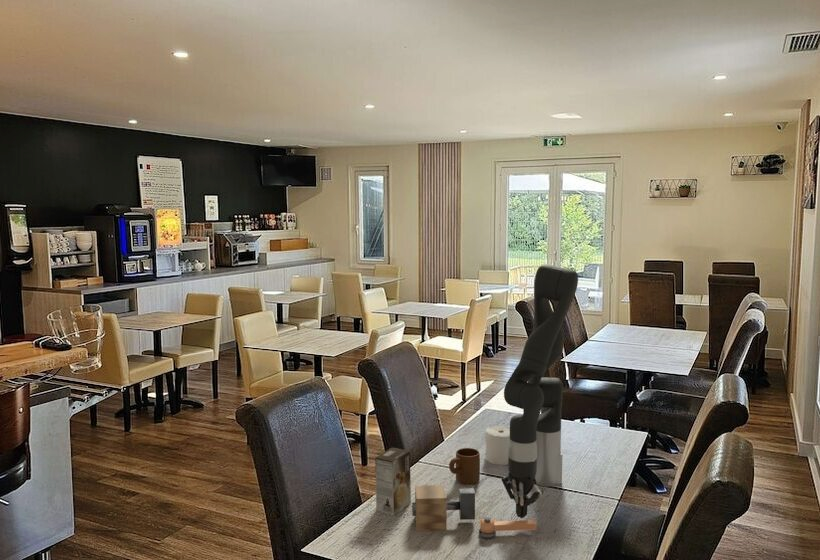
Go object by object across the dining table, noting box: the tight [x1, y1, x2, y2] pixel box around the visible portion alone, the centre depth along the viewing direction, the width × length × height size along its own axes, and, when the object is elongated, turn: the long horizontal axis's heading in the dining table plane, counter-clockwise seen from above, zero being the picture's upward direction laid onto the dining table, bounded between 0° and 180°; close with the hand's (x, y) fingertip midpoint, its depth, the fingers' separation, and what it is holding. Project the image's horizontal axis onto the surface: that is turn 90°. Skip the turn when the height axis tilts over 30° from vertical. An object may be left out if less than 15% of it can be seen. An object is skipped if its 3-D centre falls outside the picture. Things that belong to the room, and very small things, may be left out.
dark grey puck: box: [478, 528, 497, 540], centre depth 166 cm, size 4×4×1 cm
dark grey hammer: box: [411, 487, 476, 521], centre depth 172 cm, size 17×3×8 cm, turn 92°
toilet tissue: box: [485, 425, 510, 466], centre depth 216 cm, size 11×12×10 cm
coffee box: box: [374, 447, 412, 516], centre depth 181 cm, size 9×6×16 cm
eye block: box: [414, 484, 448, 532], centre depth 172 cm, size 8×8×9 cm
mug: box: [448, 447, 481, 486], centre depth 198 cm, size 12×8×9 cm, turn 133°
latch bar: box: [479, 517, 537, 534], centre depth 166 cm, size 4×15×3 cm, turn 93°
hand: (521, 516), depth 170 cm, fingers closed
